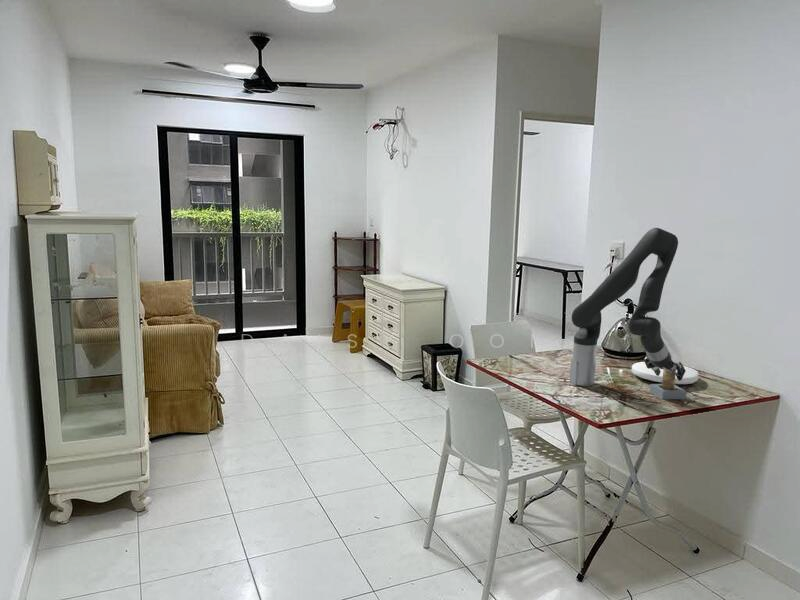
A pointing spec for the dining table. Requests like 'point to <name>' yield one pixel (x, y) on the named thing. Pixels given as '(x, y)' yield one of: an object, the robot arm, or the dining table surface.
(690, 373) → the plate
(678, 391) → the socket block
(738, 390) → the dining table surface
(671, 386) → the dowel
